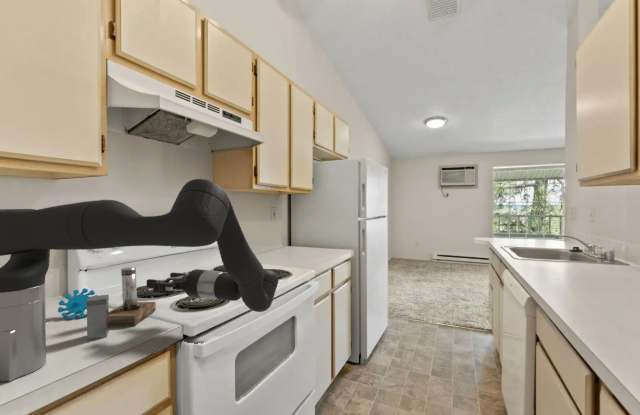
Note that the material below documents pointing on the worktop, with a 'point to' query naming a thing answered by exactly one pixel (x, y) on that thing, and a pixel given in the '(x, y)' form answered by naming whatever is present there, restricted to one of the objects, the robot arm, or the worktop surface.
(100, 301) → the square bit
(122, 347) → the worktop surface
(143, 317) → the socket plate
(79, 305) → the blue virus model
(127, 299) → the silver capped cylinder
